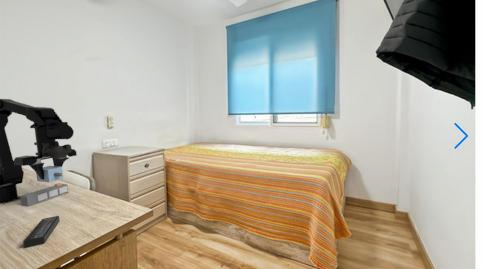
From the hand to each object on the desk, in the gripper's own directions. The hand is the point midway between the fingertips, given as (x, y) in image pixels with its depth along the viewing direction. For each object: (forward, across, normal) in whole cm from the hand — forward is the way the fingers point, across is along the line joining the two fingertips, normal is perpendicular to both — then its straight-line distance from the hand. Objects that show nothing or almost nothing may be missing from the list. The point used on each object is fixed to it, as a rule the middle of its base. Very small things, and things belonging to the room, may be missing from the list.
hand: (50, 177), depth 86 cm
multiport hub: (+12, -16, -22) cm, 30 cm away
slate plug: (+1, 0, 0) cm, 1 cm away
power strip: (+11, +2, +8) cm, 14 cm away
